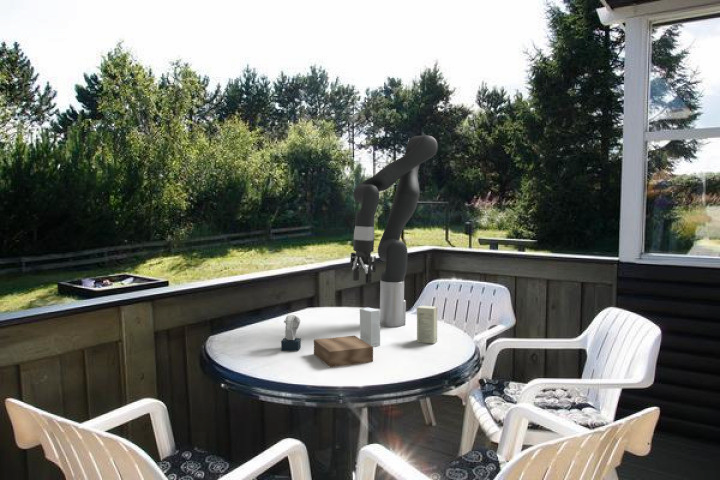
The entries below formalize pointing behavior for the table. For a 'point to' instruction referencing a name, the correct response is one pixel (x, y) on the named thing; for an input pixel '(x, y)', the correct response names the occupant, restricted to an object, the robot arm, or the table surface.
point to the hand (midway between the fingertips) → (361, 282)
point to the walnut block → (343, 351)
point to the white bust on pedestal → (291, 334)
